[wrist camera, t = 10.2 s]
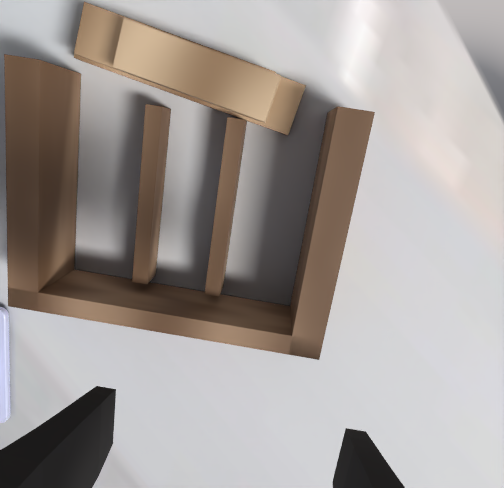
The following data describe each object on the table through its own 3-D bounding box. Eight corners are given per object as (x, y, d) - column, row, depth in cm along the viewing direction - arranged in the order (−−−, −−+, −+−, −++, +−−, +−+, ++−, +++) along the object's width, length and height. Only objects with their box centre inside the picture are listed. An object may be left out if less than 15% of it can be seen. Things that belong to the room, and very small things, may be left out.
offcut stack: (83, 61, 20) (50, 47, 17) (94, 11, 19) (61, -12, 16) (287, 135, 20) (289, 134, 17) (304, 88, 19) (309, 78, 16)
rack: (48, 281, 23) (8, 306, 19) (52, 69, 19) (4, 54, 16) (312, 326, 22) (319, 359, 19) (357, 117, 19) (374, 112, 16)
